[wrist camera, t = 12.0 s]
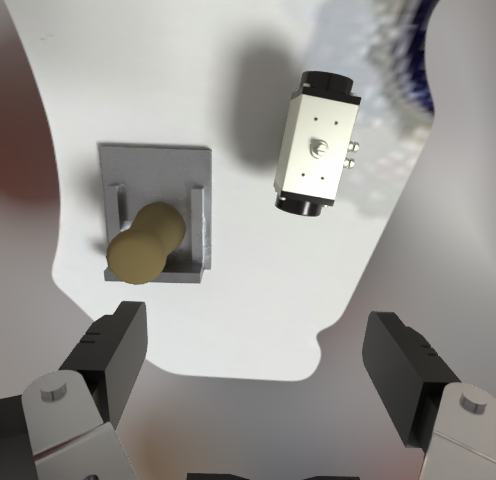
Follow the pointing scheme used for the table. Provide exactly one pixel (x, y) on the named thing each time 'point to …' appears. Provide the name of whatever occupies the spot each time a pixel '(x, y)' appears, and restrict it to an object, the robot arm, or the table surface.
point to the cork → (146, 244)
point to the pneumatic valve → (316, 143)
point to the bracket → (162, 201)
